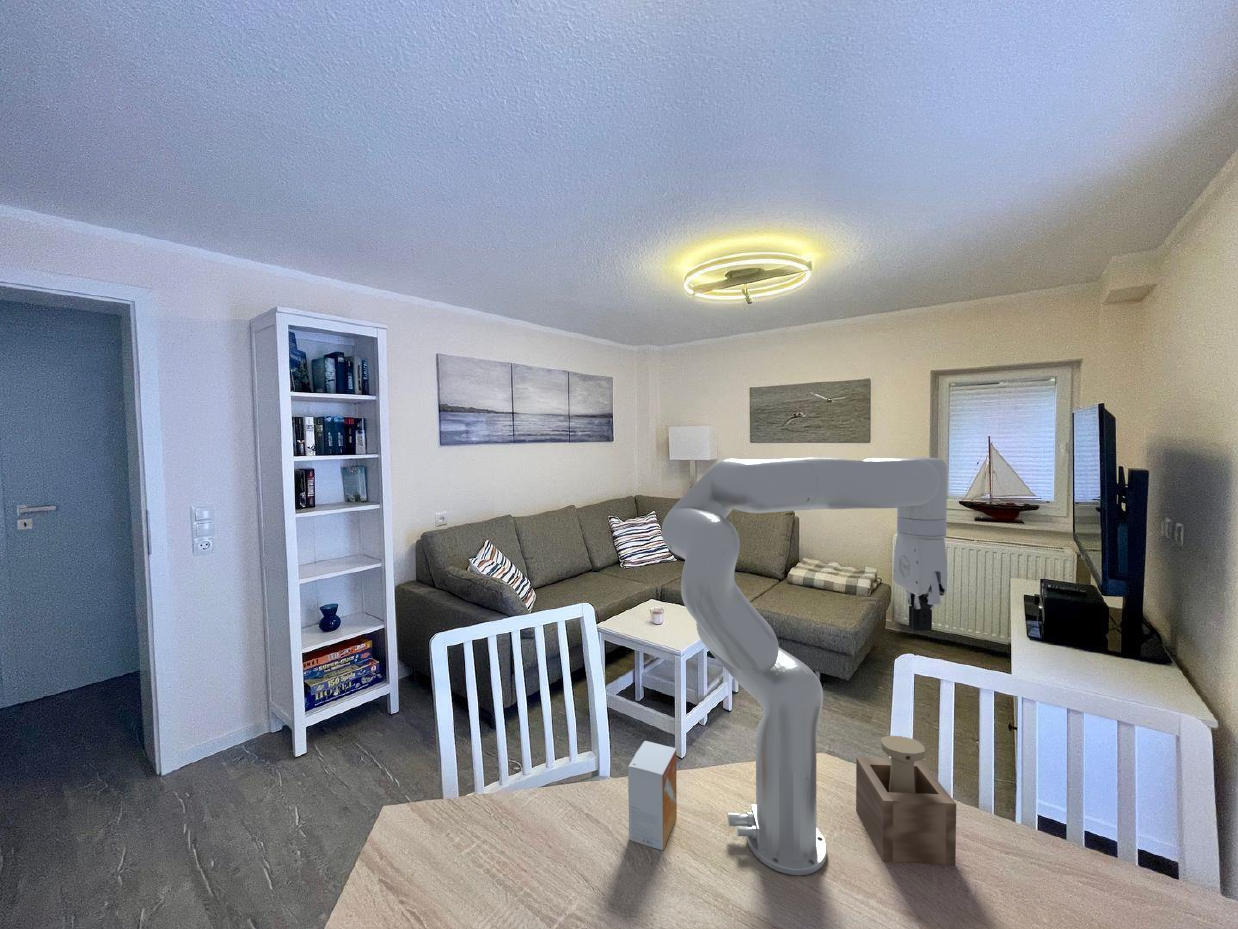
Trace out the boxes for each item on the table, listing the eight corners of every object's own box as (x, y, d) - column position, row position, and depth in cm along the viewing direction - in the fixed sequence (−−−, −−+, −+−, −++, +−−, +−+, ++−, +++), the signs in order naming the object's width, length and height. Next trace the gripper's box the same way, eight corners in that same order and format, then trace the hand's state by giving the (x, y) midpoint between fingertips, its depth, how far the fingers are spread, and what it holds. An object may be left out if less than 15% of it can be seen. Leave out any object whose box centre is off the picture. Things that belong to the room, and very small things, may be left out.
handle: (928, 844, 82) (929, 755, 81) (886, 839, 83) (887, 751, 82) (916, 822, 87) (917, 737, 86) (876, 818, 88) (877, 734, 87)
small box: (663, 852, 83) (662, 775, 82) (628, 840, 85) (626, 766, 84) (678, 818, 90) (677, 747, 89) (644, 808, 93) (643, 739, 92)
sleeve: (882, 861, 80) (883, 800, 80) (856, 810, 91) (856, 757, 90) (955, 865, 79) (956, 803, 79) (919, 813, 90) (920, 759, 90)
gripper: (880, 520, 97) (880, 614, 98) (920, 535, 82) (919, 645, 83) (921, 520, 96) (920, 614, 97) (969, 535, 81) (967, 646, 82)
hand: (920, 628), depth 90 cm, fingers closed
